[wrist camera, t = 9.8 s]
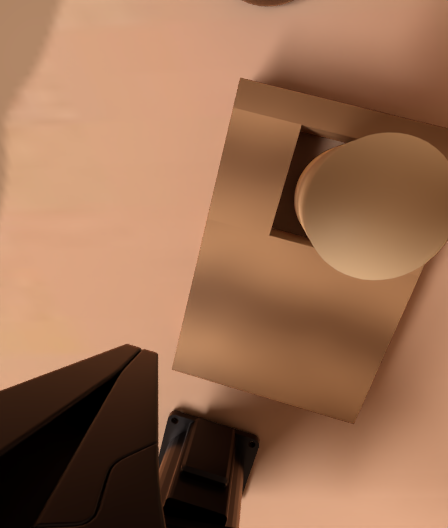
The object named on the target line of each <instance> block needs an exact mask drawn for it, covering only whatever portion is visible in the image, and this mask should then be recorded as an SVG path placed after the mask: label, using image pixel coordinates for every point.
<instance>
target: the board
mask: <svg viewBox="0 0 448 528" xmlns="http://www.w3.org/2000/svg"><path fill="white" fill-rule="evenodd" d="M300 131H301V132H305V133H309V134H313V135H317V136H321V137H325V138H329V139H333V140H337V141H341V142H345V143H348V142H351V141H354V140H357V139H359V138H362V137H365V136H368V135H373V134H377V133H387V132H389V133H402V134H408V135H412V136H415V137H418V138H420V139H422V140H424V141H426V142H428V143H430V144H431V145H432V146H434V147H435V148H437V149H438V150H439V151H440V152H441V153H442V154H443V155H444V156H445V158H446V159H447V160H448V128H444V127H440V126H436V125H431V124H427V123H423V122H419V121H415V120H411V119H407V118H403V117H399V116H395V115H391V114H387V113H383V112H378V111H374V110H370V109H366V108H362V107H358V106H354V105H350V104H346V103H342V102H338V101H334V100H329V99H325V98H321V97H317V96H313V95H309V94H305V93H301V92H297V91H293V90H289V89H285V88H280V87H276V86H272V85H268V84H264V83H260V82H256V81H252V80H248V79H244V78H240V81H239V85H238V89H237V94H236V98H235V102H234V106H233V111H232V115H231V119H230V123H229V128H228V132H227V136H226V140H225V145H224V149H223V153H222V157H221V162H220V166H219V170H218V175H217V179H216V183H215V187H214V192H213V196H212V200H211V204H210V209H209V213H208V217H207V221H206V226H205V230H204V234H203V239H202V243H201V247H200V251H199V256H198V260H197V264H196V268H195V273H194V277H193V281H192V285H191V290H190V294H189V298H188V302H187V307H186V311H185V315H184V320H183V324H182V328H181V332H180V337H179V341H178V345H177V349H176V354H175V358H174V362H173V366H172V370H175V371H178V372H182V373H185V374H188V375H192V376H195V377H198V378H202V379H205V380H208V381H212V382H215V383H218V384H222V385H225V386H228V387H232V388H235V389H238V390H242V391H245V392H248V393H252V394H255V395H258V396H262V397H265V398H268V399H272V400H275V401H278V402H282V403H285V404H288V405H292V406H295V407H298V408H302V409H305V410H308V411H312V412H315V413H318V414H322V415H325V416H328V417H332V418H335V419H338V420H342V421H345V422H348V423H352V424H354V423H355V420H356V418H357V416H358V414H359V411H360V409H361V407H362V405H363V402H364V400H365V398H366V396H367V393H368V391H369V389H370V386H371V384H372V382H373V380H374V377H375V375H376V373H377V371H378V368H379V366H380V364H381V362H382V359H383V357H384V355H385V353H386V350H387V348H388V346H389V344H390V341H391V339H392V337H393V335H394V332H395V330H396V328H397V326H398V323H399V321H400V319H401V317H402V314H403V312H404V310H405V308H406V305H407V303H408V301H409V299H410V296H411V294H412V292H413V290H414V287H415V285H416V283H417V281H418V278H419V276H420V274H421V272H422V269H423V267H424V265H425V264H424V265H422V266H421V267H419V268H418V269H416V270H414V271H412V272H410V273H407V274H405V275H402V276H399V277H396V278H392V279H385V280H363V279H359V278H354V277H351V276H348V275H345V274H343V273H341V272H339V271H337V270H336V269H334V268H333V267H331V266H330V265H329V264H328V263H327V262H325V261H324V260H323V259H322V257H321V256H320V255H319V254H318V253H317V251H316V249H315V248H314V246H313V245H312V243H311V241H310V239H309V238H307V237H303V236H299V235H296V234H292V233H288V232H284V231H281V230H277V229H273V228H272V224H273V221H274V217H275V214H276V211H277V207H278V204H279V200H280V197H281V194H282V190H283V187H284V183H285V180H286V177H287V173H288V170H289V166H290V163H291V160H292V156H293V153H294V149H295V146H296V142H297V139H298V136H299V132H300Z"/></svg>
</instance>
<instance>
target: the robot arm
mask: <svg viewBox="0 0 448 528" xmlns="http://www.w3.org/2000/svg"><path fill="white" fill-rule="evenodd" d="M174 418H177V419H178V420H175V419H174ZM250 442H254V443H250ZM258 448H259V438H258V437H257V436H256V435H254V434H251V433H247V432H244V431H241V430H238V429H234V428H231V427H228V426H225V425H221V424H218V423H215V422H212V421H208V420H205V419H202V418H199V417H195V416H192V415H189V414H185V413H182V412H179V411H172V412H171V413H170V415H169V417H168V421H167V425H166V429H165V433H164V437H163V441H162V445H161V449H160V453H159V448H158V354H157V353H156V352H153V351H149V350H146V349H143V350H141V348H139V347H136V346H133V345H129V344H125V345H122V346H120V347H117V348H114V349H112V350H109V351H106V352H103V353H101V354H98V355H95V356H93V357H90V358H87V359H85V360H82V361H79V362H77V363H74V364H71V365H69V366H66V367H63V368H60V369H58V370H55V371H52V372H50V373H47V374H44V375H42V376H39V377H36V378H34V379H31V380H28V381H26V382H23V383H20V384H17V385H15V386H12V387H9V388H7V389H4V390H1V391H0V528H239V521H240V510H241V498H242V494H243V491H244V488H245V485H246V482H247V479H248V476H249V474H250V471H251V468H252V465H253V462H254V459H255V456H256V454H257V451H258Z"/></svg>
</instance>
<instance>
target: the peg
mask: <svg viewBox="0 0 448 528" xmlns="http://www.w3.org/2000/svg"><path fill="white" fill-rule="evenodd" d="M294 205H295V211H296V214H297V217H298V220H299V222H300V224H301V225H302V227H303V229H304V231H305V232H306V234H307V236H308V238H309V239H310V241H311V243H312V245H313V246H314V248H315V249H316V251H317V253H318V254H319V255H320V256H321V257H322V259H323V260H324V261H325V262H327V263H328V264H329V265H330V266H331V267H333V268H334V269H336V270H337V271H339V272H341V273H343V274H345V275H348V276H351V277H354V278H359V279H363V280H385V279H392V278H396V277H399V276H402V275H405V274H407V273H410V272H412V271H414V270H416V269H418V268H419V267H421V266H422V265H424V264H425V263H427V262H428V261H429V260H430V259H431V258H433V257H434V256H435V255H436V254H437V253H438V252H439V251H440V249H441V248H442V247H443V246H444V244H445V243H446V241H447V240H448V160H447V159H446V158H445V156H444V155H443V154H442V153H441V152H440V151H439V150H438V149H437V148H435V147H434V146H432V145H431V144H430V143H428V142H426V141H424V140H422V139H420V138H418V137H415V136H412V135H408V134H402V133H389V132H387V133H377V134H373V135H368V136H365V137H362V138H359V139H357V140H354V141H351V142H348V143H346V144H343V145H340V146H338V147H335V148H332V149H329V150H327V151H325V152H323V153H321V154H320V155H318V156H317V157H316V158H314V159H313V160H312V161H311V162H310V163H309V164H308V165H307V167H306V168H305V169H304V171H303V172H302V174H301V176H300V178H299V180H298V182H297V185H296V189H295V196H294Z"/></svg>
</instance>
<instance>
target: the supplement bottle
mask: <svg viewBox="0 0 448 528" xmlns="http://www.w3.org/2000/svg"><path fill="white" fill-rule="evenodd" d="M242 1H244V2H247V3H250V4H253V5H258V6H277V5H282V4H286V3H289V2H291V1H294V0H242Z"/></svg>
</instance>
